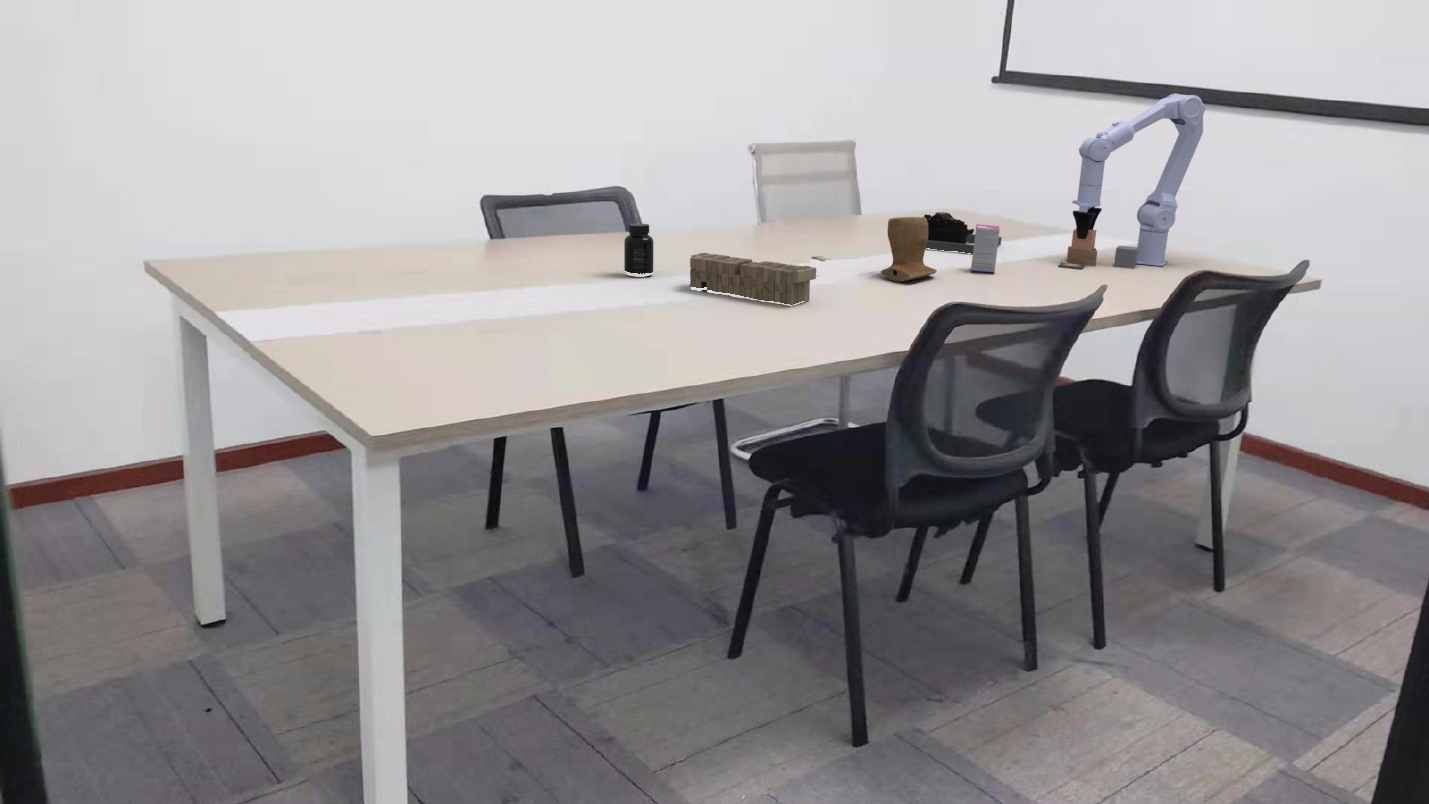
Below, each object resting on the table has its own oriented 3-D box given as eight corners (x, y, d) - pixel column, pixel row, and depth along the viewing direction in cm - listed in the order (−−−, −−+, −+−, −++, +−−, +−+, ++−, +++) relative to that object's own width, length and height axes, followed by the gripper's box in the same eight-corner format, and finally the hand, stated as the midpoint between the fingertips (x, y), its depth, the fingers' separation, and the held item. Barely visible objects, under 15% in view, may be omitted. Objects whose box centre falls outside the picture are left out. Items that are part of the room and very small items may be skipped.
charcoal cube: (1116, 264, 311) (1119, 245, 310) (1136, 266, 309) (1138, 247, 308) (1113, 267, 307) (1116, 248, 306) (1133, 269, 305) (1136, 250, 303)
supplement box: (995, 274, 291) (999, 228, 287) (970, 272, 292) (975, 227, 289) (994, 270, 296) (999, 225, 293) (970, 268, 297) (975, 223, 294)
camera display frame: (919, 237, 344) (920, 229, 344) (1000, 245, 334) (1001, 237, 334) (898, 246, 327) (898, 237, 327) (983, 255, 317) (984, 246, 316)
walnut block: (1066, 260, 315) (1068, 246, 314) (1093, 262, 314) (1095, 247, 312) (1067, 265, 309) (1069, 250, 307) (1095, 267, 307) (1097, 252, 306)
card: (1061, 264, 308) (1061, 261, 308) (1085, 266, 305) (1085, 264, 305) (1057, 267, 304) (1058, 264, 303) (1081, 269, 301) (1081, 267, 301)
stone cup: (899, 270, 292) (904, 210, 288) (942, 277, 285) (947, 215, 280) (867, 278, 281) (871, 215, 276) (910, 285, 274) (915, 221, 269)
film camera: (982, 248, 330) (985, 212, 327) (968, 254, 320) (971, 217, 317) (922, 241, 338) (925, 206, 336) (906, 246, 328) (909, 211, 325)
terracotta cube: (1075, 246, 313) (1077, 228, 312) (1094, 248, 311) (1096, 229, 310) (1070, 249, 309) (1073, 230, 308) (1090, 251, 307) (1092, 232, 305)
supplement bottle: (658, 274, 277) (659, 224, 274) (644, 279, 271) (645, 227, 268) (632, 271, 280) (633, 221, 276) (618, 276, 274) (619, 224, 270)
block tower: (684, 294, 262) (797, 308, 246) (684, 256, 260) (798, 269, 244) (704, 288, 268) (815, 302, 253) (704, 252, 266) (816, 264, 250)
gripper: (1079, 181, 313) (1073, 231, 317) (1069, 186, 300) (1063, 238, 304) (1107, 183, 310) (1100, 234, 314) (1098, 188, 297) (1091, 241, 301)
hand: (1084, 236), depth 309 cm, fingers open, 7 cm apart
